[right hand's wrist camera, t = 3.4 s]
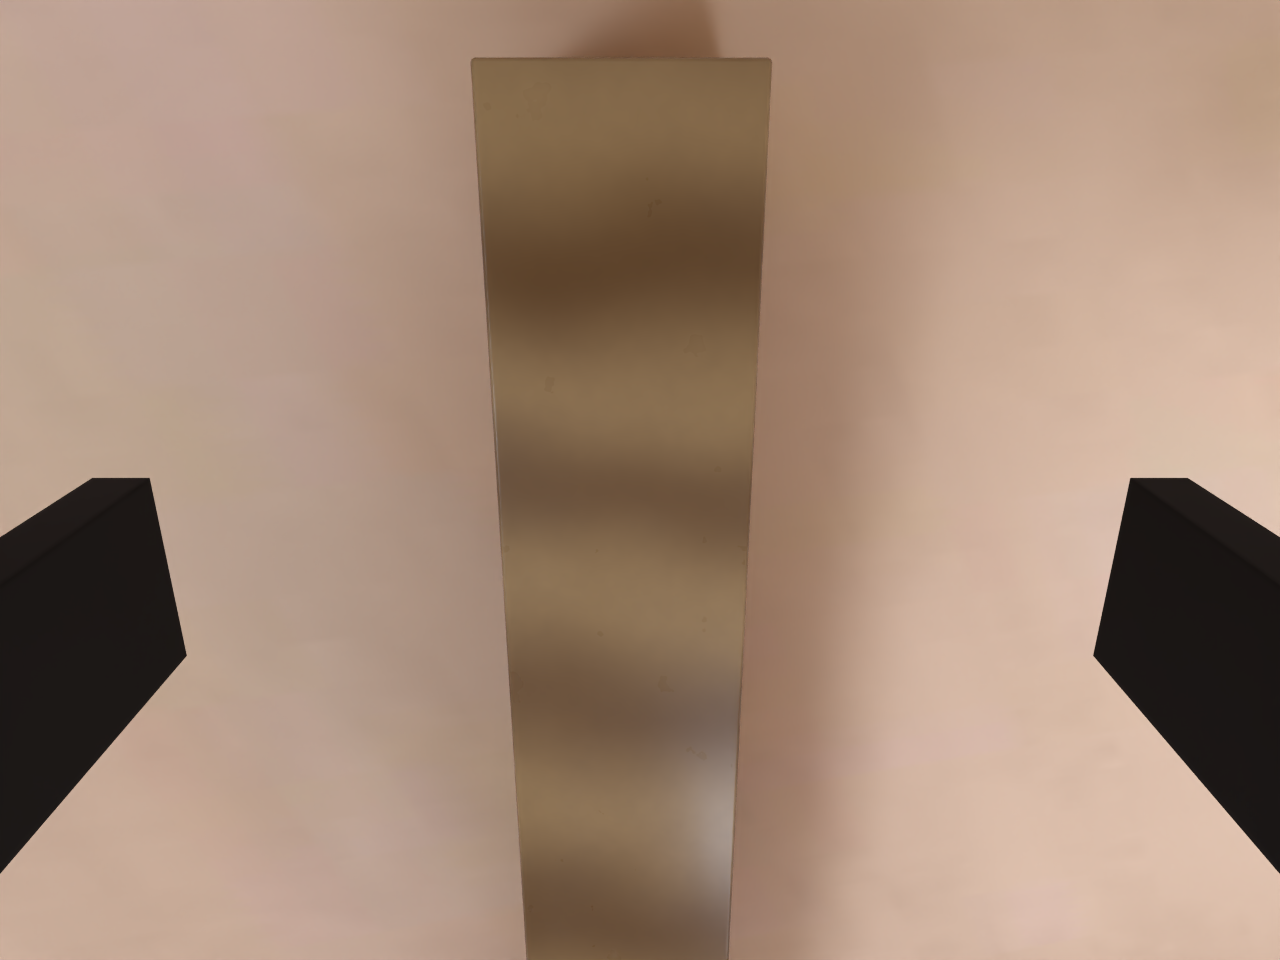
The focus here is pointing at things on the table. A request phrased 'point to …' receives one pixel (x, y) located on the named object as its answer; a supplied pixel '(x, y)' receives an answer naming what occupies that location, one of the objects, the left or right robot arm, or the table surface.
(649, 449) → the beam
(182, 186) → the table surface
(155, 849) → the table surface
